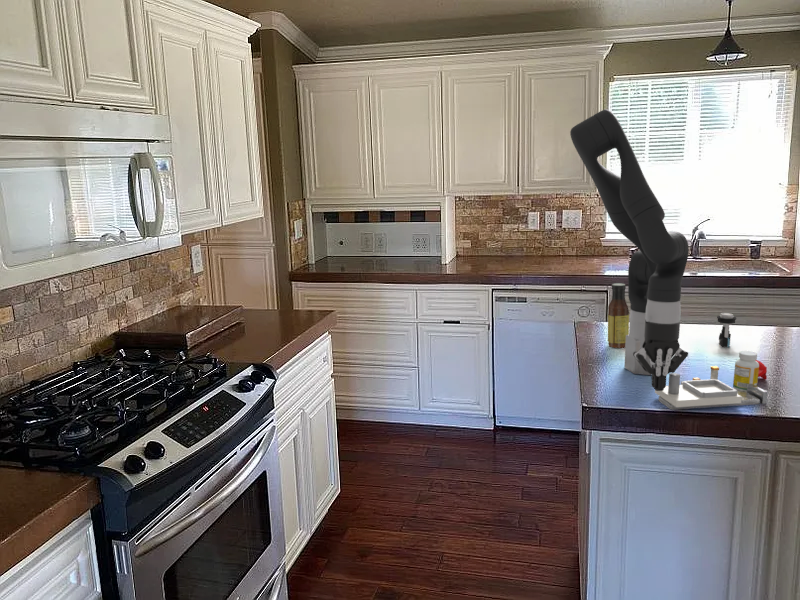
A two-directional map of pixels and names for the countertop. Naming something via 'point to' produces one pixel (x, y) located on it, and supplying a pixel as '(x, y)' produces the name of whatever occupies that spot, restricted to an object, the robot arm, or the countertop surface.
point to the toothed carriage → (698, 392)
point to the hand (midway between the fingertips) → (658, 389)
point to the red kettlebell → (762, 370)
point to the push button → (725, 328)
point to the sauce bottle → (618, 317)
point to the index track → (748, 398)
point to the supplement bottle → (745, 370)
